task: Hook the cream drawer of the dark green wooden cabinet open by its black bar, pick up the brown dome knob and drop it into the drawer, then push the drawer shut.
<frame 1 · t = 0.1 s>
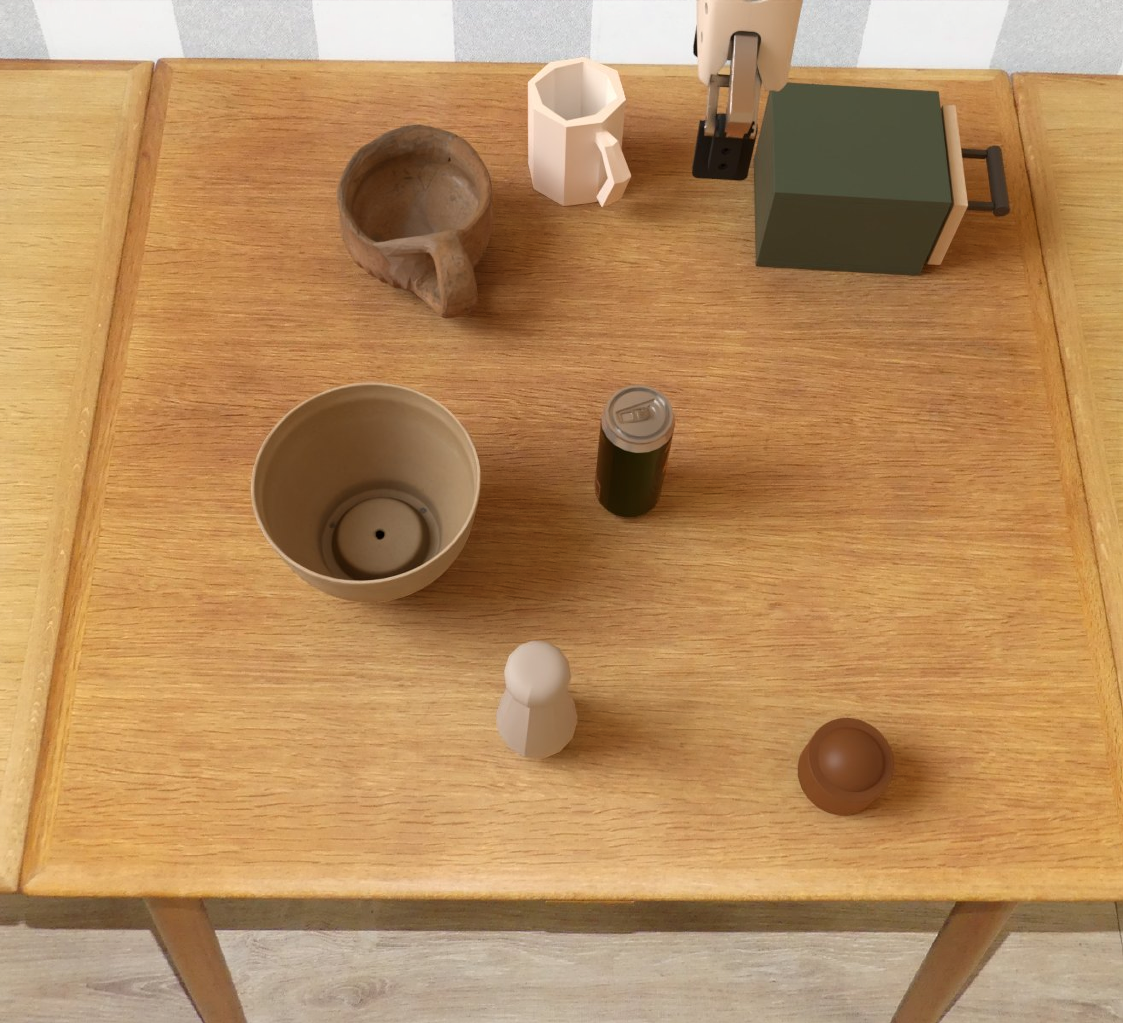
hand: (718, 113, 73), 33 cm above the table, tool pointing down, fingers open, 9 cm apart
brown clay cup: (433, 263, 109), on the table
mug: (584, 186, 113), on the table
beer can: (627, 493, 99), on the table
planter bowl: (383, 545, 96), on the table
salt shaker: (536, 728, 89), on the table
cabinet: (834, 216, 112), on the table
drawer: (898, 182, 108), point 5 cm above the table, slide at 0.5 cm
brown dome knob: (838, 773, 88), on the table
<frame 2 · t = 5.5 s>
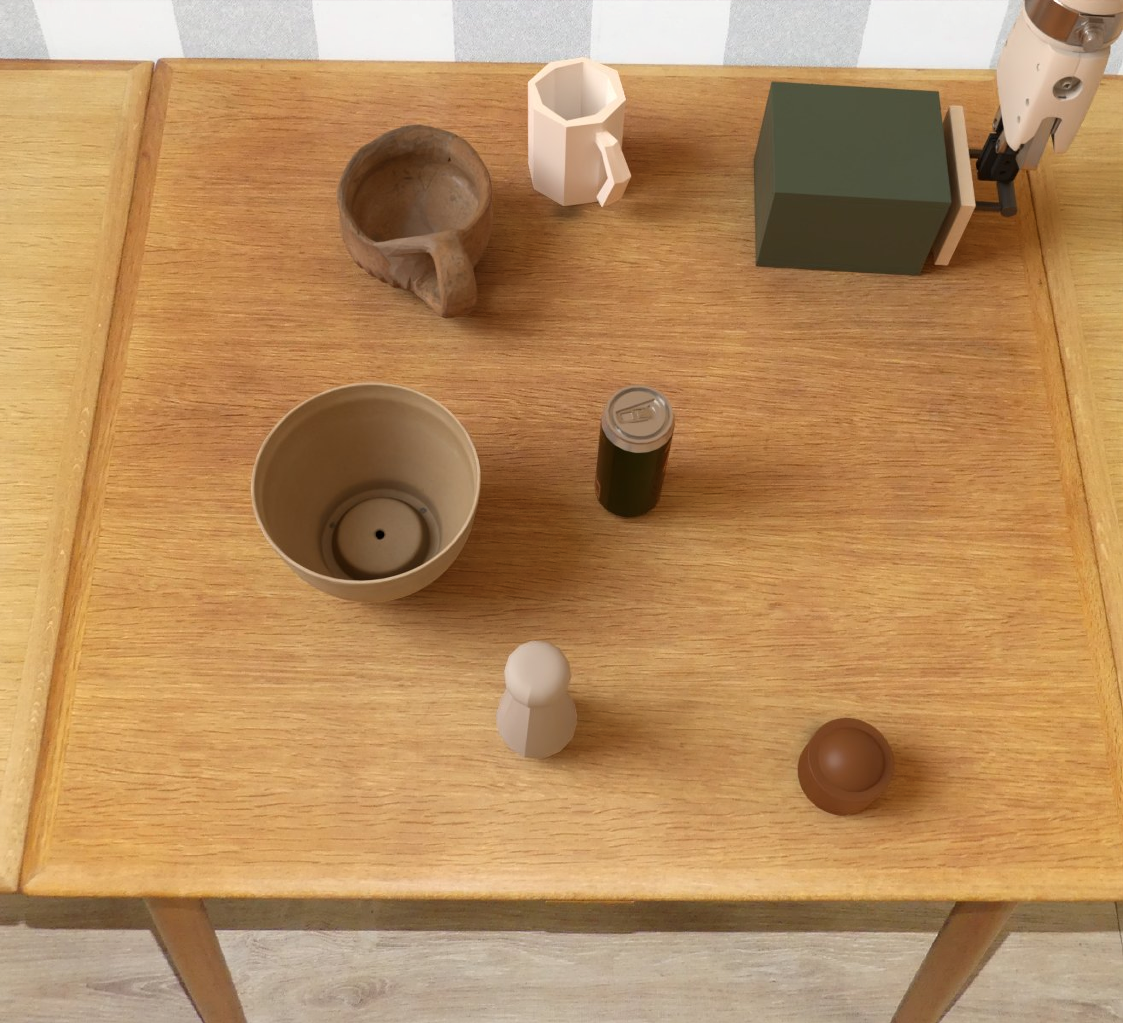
hand: (993, 173, 106), 6 cm above the table, tool pointing down, fingers closed
drawer: (905, 183, 108), point 5 cm above the table, slide at 1.1 cm, touching gripper
everything else where it was.
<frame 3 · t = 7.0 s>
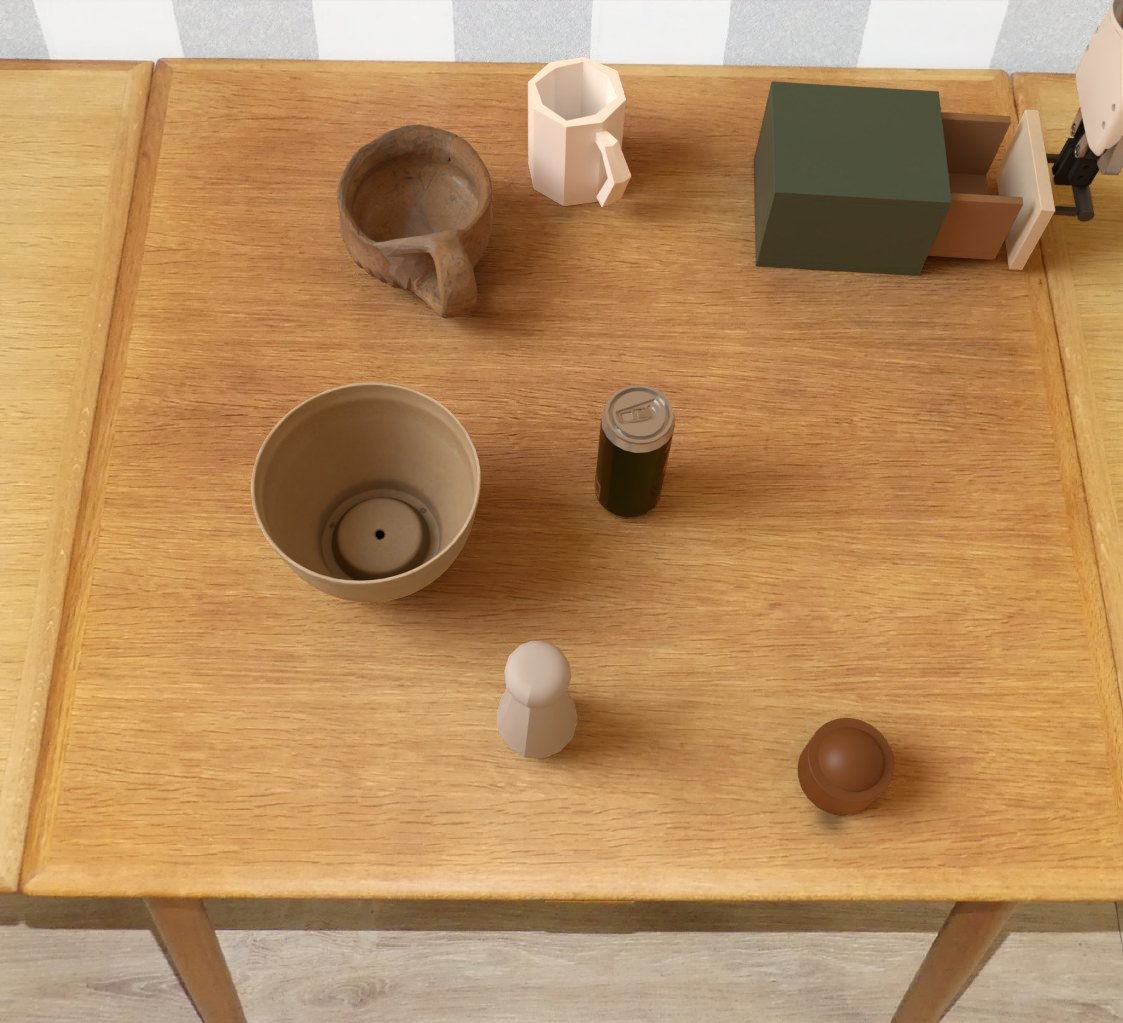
hand: (1069, 178, 106), 6 cm above the table, tool pointing down, fingers closed
drawer: (980, 187, 108), point 5 cm above the table, slide at 7.8 cm, touching gripper
everything else where it was.
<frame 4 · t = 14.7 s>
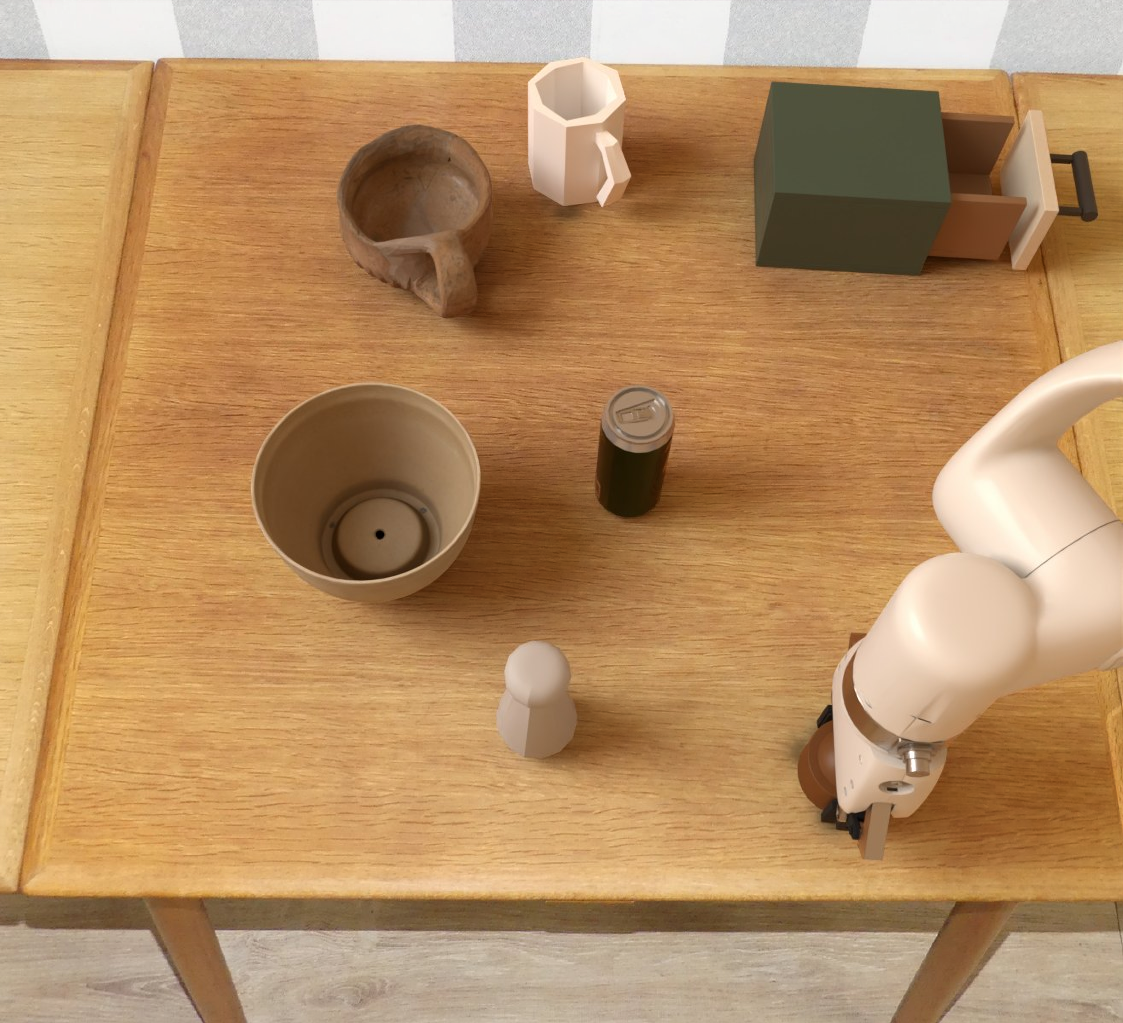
hand: (840, 771, 88), 1 cm above the table, tool pointing down, fingers closed on brown dome knob, 6 cm apart
drawer: (984, 188, 108), point 5 cm above the table, slide at 8.1 cm
brown dome knob: (838, 773, 88), on the table, touching gripper
everything else where it was.
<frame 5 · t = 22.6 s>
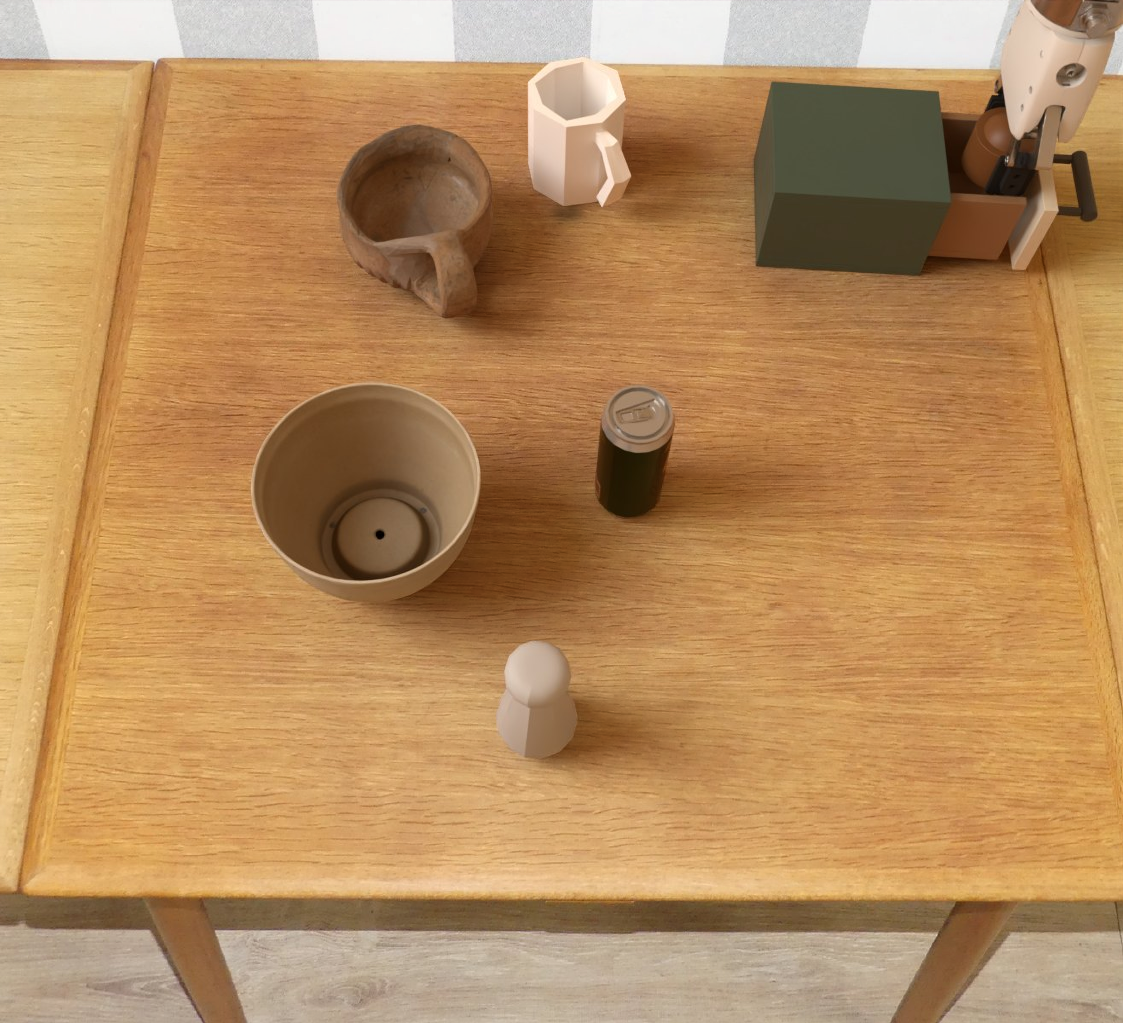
hand: (999, 160, 105), 8 cm above the table, tool pointing down, fingers closed on brown dome knob, 6 cm apart
brown dome knob: (996, 165, 105), point 8 cm above the table, touching gripper
everything else where it was.
when the fingers open (9 cm above the table, at t = 31.9 s): brown dome knob drops 7 cm, resting on drawer.
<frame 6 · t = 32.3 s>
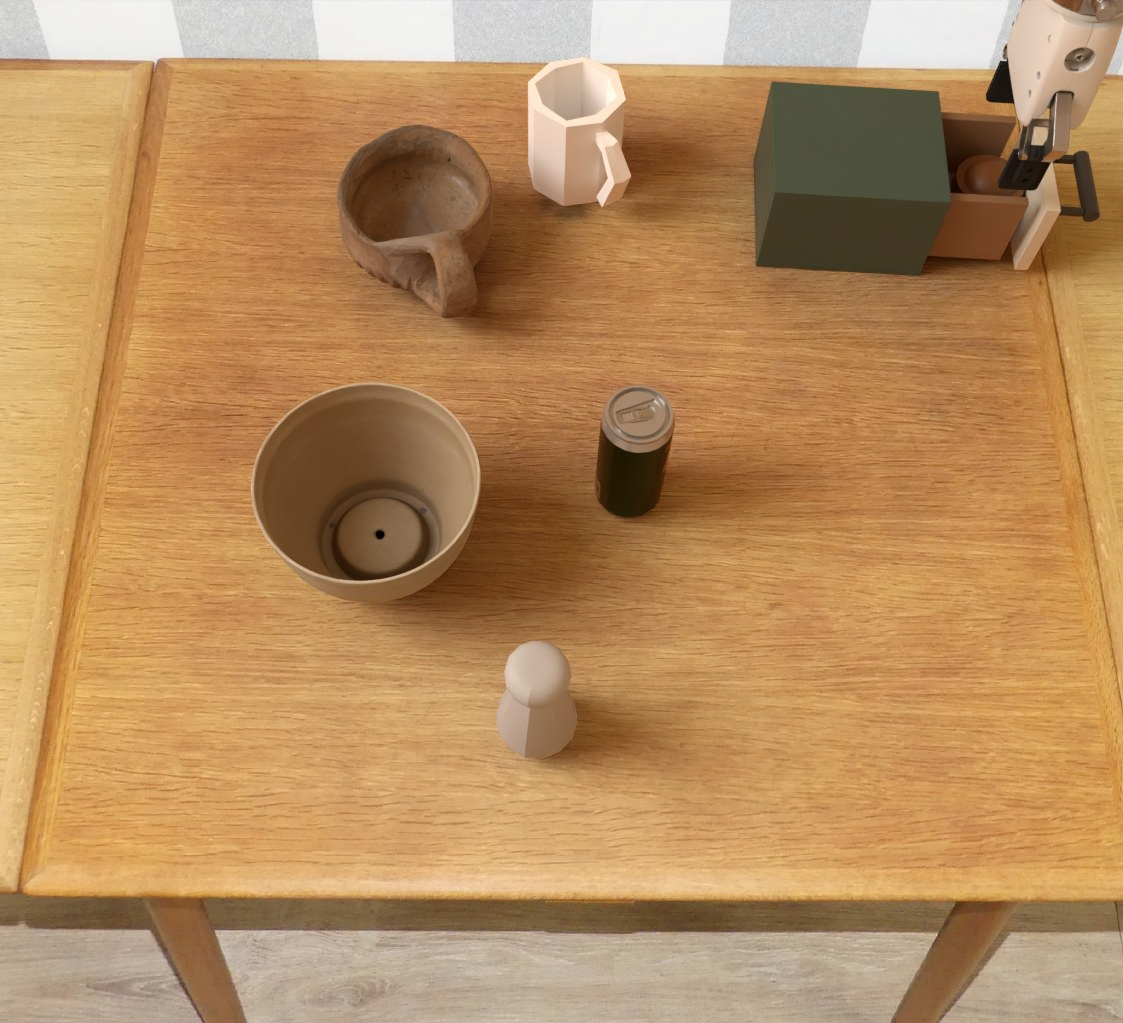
hand: (1009, 142, 103), 10 cm above the table, tool pointing down, fingers open, 9 cm apart
drawer: (985, 188, 108), point 5 cm above the table, slide at 8.2 cm, touching brown dome knob
brown dome knob: (976, 209, 110), point 2 cm above the table, touching drawer
everything else where it was.
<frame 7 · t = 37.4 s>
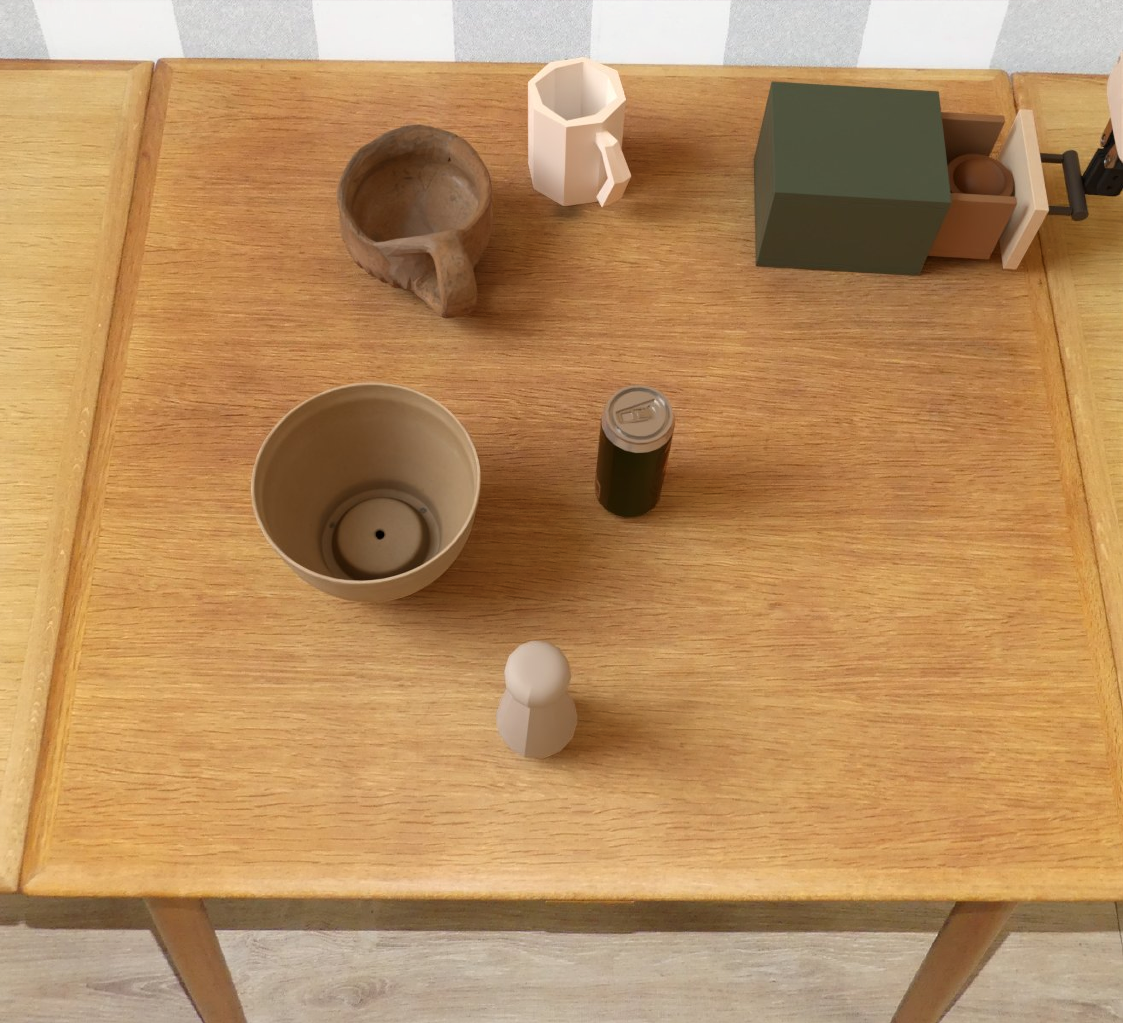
hand: (1098, 188, 107), 5 cm above the table, tool pointing down, fingers closed
drawer: (974, 187, 108), point 5 cm above the table, slide at 7.2 cm, touching brown dome knob
everything else where it was.
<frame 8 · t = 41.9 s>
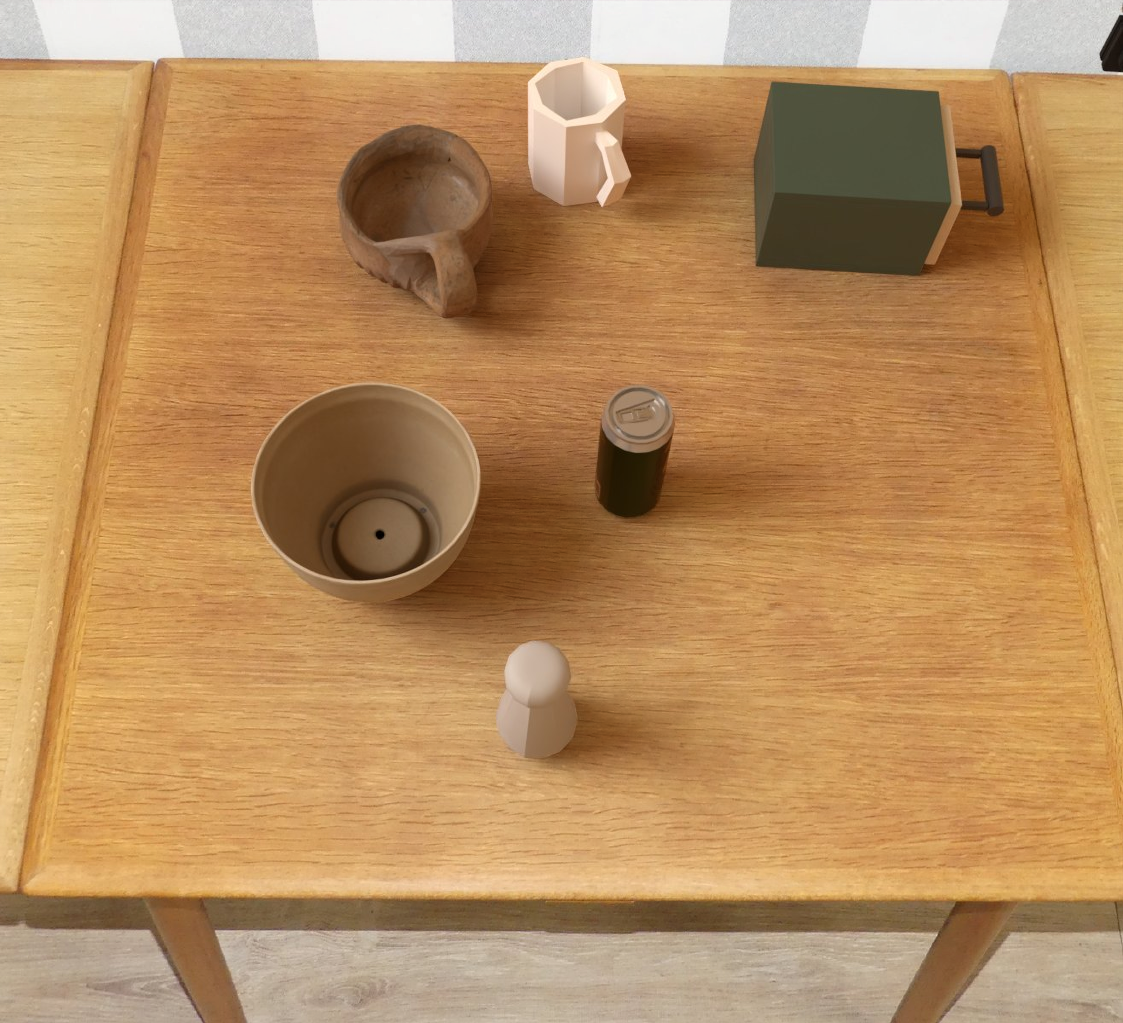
hand: (1119, 64, 95), 19 cm above the table, tool pointing down, fingers closed
drawer: (892, 182, 108), point 5 cm above the table, slide at 0.0 cm, touching brown dome knob, cabinet
brown dome knob: (885, 204, 110), point 2 cm above the table, touching drawer
everything else where it was.
at the end: drawer pulled out 8.2 cm at the most during the clip, back to where it started at the end; brown dome knob inside the target area in the cabinet (3.5 cm from its centre), point 2.0 cm above the cabinet's base; drawer slide at 0.0 cm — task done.
